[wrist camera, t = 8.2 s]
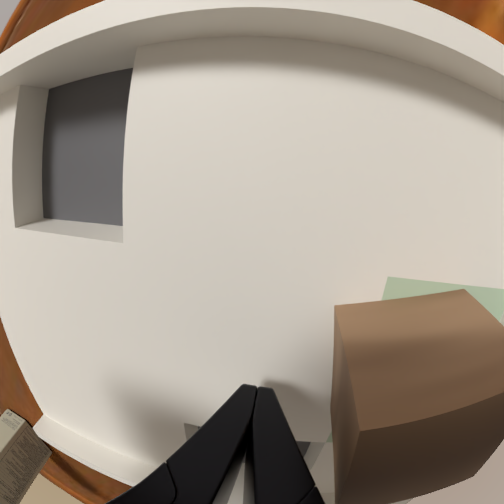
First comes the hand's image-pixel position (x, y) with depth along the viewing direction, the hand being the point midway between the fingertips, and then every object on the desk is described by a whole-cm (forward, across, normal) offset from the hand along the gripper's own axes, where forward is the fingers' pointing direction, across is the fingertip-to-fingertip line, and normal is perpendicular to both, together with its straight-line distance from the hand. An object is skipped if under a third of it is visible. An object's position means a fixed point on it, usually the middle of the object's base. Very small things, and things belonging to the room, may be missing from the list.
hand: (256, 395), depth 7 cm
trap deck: (+3, +2, 0) cm, 4 cm away
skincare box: (+3, +24, +22) cm, 32 cm away
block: (+1, -4, -1) cm, 4 cm away
